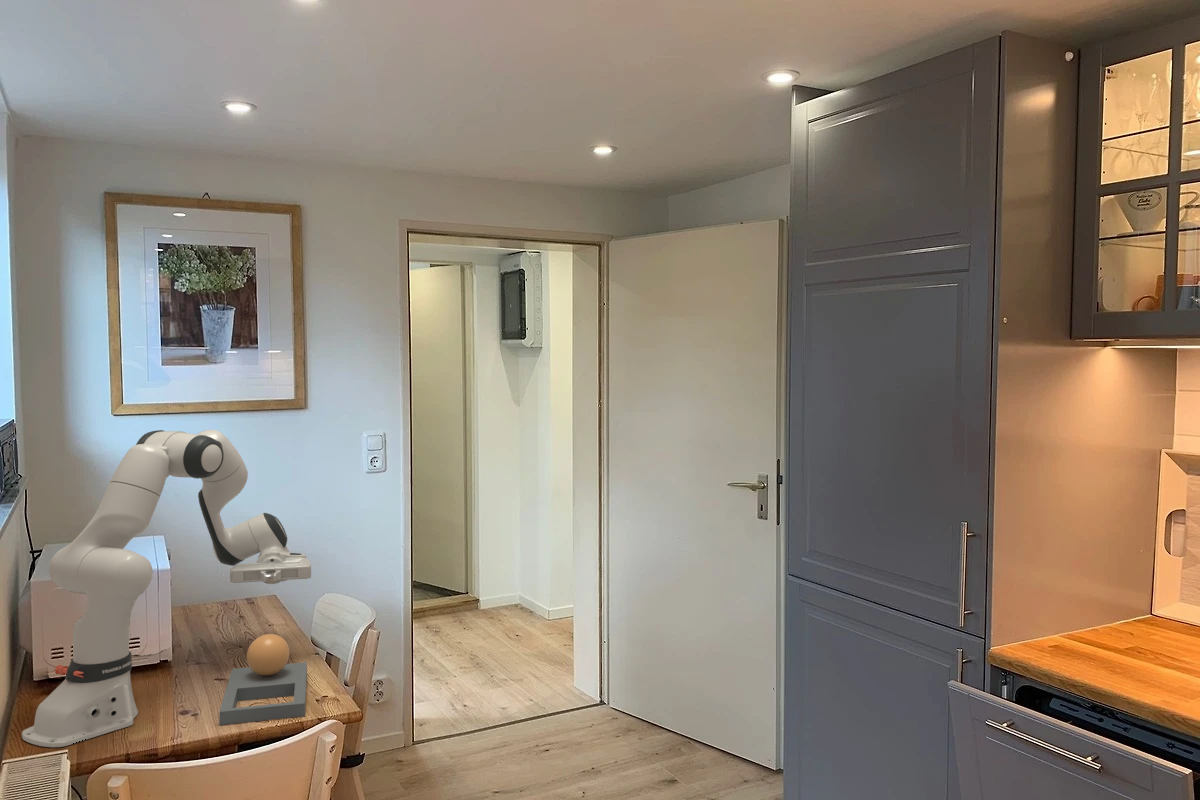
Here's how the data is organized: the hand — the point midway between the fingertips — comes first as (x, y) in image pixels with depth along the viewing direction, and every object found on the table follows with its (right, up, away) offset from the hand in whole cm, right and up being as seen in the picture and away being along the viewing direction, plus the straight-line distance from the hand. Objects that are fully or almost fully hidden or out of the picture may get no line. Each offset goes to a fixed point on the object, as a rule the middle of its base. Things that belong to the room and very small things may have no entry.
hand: (270, 578), depth 226 cm
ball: (+3, -17, -8) cm, 19 cm away
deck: (+5, -26, -15) cm, 30 cm away
